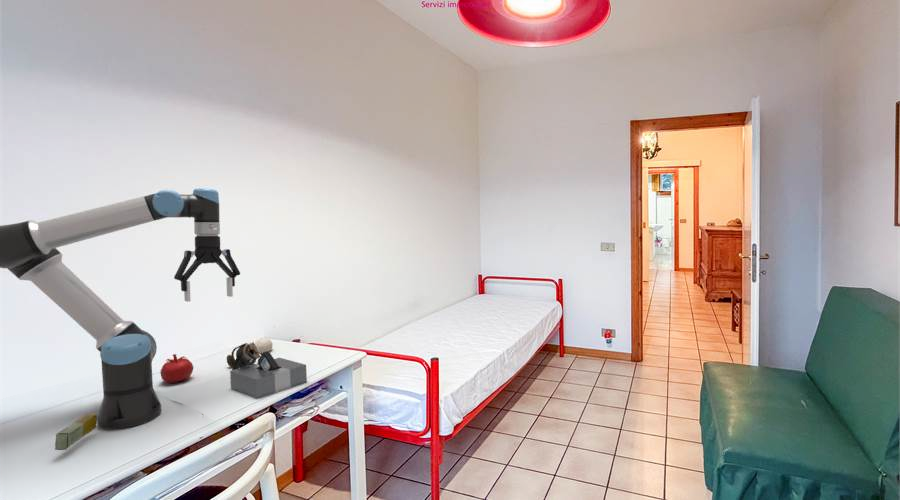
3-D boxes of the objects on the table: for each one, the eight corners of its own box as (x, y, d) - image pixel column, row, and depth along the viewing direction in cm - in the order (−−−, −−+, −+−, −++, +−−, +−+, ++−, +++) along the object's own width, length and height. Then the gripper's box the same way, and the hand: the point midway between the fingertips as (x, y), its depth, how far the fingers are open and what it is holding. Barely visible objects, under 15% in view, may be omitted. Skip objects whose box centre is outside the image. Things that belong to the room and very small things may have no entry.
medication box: (66, 450, 109) (67, 434, 109) (54, 450, 109) (54, 434, 109) (97, 427, 121) (97, 413, 121) (85, 427, 121) (86, 413, 121)
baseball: (251, 354, 191) (250, 338, 191) (267, 350, 197) (267, 335, 196) (259, 357, 187) (258, 341, 186) (275, 353, 192) (275, 337, 192)
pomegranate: (199, 377, 162) (198, 351, 162) (171, 386, 153) (170, 359, 153) (182, 373, 167) (181, 348, 166) (154, 382, 158) (153, 356, 157)
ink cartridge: (267, 379, 150) (256, 361, 153) (273, 378, 152) (262, 360, 155) (273, 368, 148) (262, 351, 152) (279, 367, 150) (268, 350, 154)
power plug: (235, 374, 163) (249, 347, 161) (249, 387, 161) (263, 360, 158) (223, 378, 158) (237, 351, 155) (237, 392, 155) (251, 364, 153)
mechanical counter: (253, 372, 167) (252, 345, 166) (219, 372, 167) (218, 345, 166) (261, 366, 174) (260, 340, 173) (229, 366, 174) (228, 341, 174)
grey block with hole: (257, 398, 140) (256, 379, 139) (231, 388, 149) (230, 370, 149) (306, 382, 154) (306, 364, 154) (280, 373, 164) (279, 357, 163)
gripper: (170, 235, 139) (172, 304, 140) (249, 235, 158) (251, 295, 159) (161, 235, 143) (163, 302, 144) (239, 235, 163) (240, 293, 164)
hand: (209, 298), depth 152 cm, fingers open, 13 cm apart
